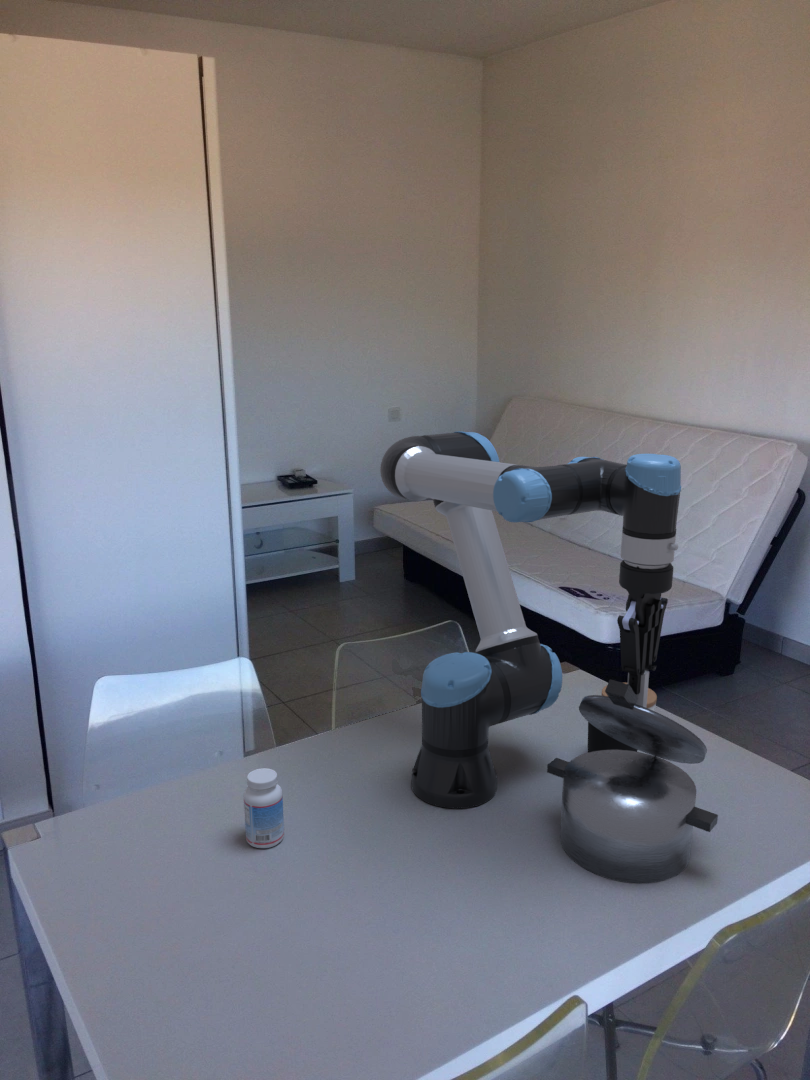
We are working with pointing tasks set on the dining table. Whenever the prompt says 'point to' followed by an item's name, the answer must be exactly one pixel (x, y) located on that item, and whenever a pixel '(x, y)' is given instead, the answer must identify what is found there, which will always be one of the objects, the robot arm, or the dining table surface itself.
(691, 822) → the cooking pot
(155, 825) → the dining table surface
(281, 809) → the pill bottle
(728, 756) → the dining table surface
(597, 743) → the pen holder
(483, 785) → the robot arm
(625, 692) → the pot lid
